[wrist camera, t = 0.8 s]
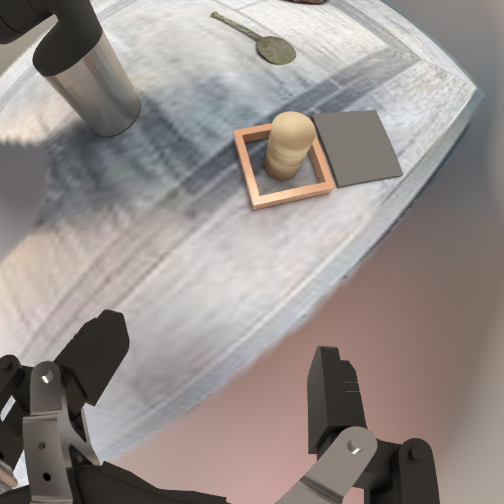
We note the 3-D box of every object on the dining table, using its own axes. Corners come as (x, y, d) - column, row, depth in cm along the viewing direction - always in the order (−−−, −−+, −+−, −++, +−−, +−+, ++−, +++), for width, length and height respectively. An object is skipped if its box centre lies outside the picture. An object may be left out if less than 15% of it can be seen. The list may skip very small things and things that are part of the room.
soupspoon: (276, 74, 39) (301, 61, 40) (279, 61, 36) (305, 50, 37) (201, 22, 39) (226, 12, 40) (200, 10, 36) (226, 1, 36)
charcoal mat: (310, 117, 37) (312, 114, 36) (373, 112, 38) (375, 110, 37) (337, 187, 36) (339, 186, 36) (400, 176, 37) (403, 174, 36)
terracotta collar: (233, 139, 36) (232, 130, 34) (305, 126, 37) (308, 118, 35) (252, 210, 36) (253, 205, 33) (329, 193, 36) (334, 187, 34)
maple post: (259, 153, 36) (266, 114, 26) (292, 147, 37) (307, 109, 27) (269, 183, 36) (279, 152, 26) (302, 176, 36) (321, 145, 26)
